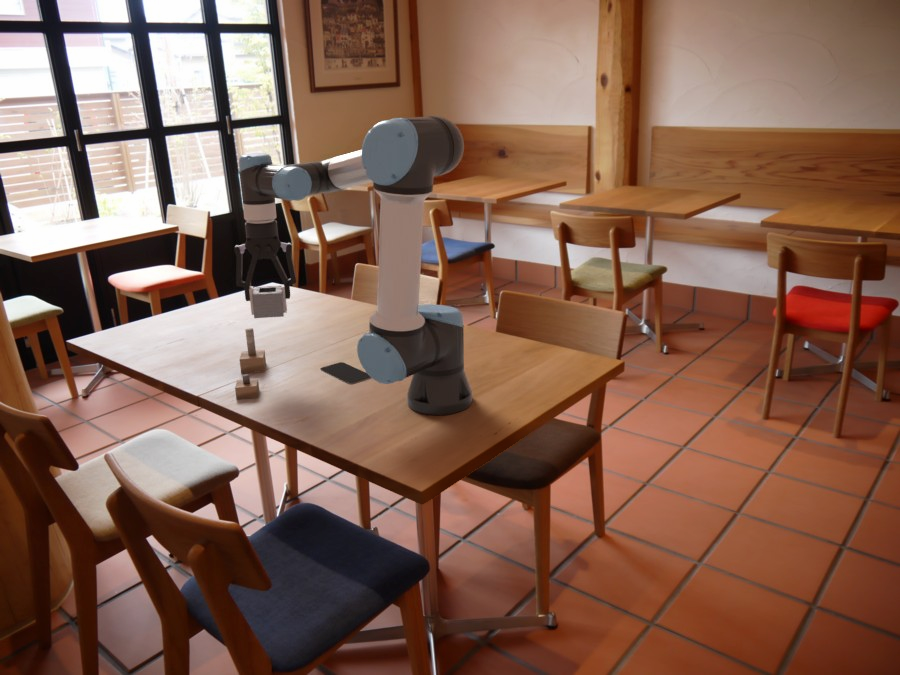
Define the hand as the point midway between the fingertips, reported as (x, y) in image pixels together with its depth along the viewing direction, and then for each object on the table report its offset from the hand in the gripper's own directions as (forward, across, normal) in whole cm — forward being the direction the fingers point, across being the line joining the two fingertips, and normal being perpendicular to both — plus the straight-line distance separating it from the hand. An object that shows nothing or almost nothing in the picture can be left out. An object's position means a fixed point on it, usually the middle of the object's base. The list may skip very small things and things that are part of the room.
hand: (269, 311), depth 185 cm
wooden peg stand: (+18, +6, -8) cm, 21 cm away
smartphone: (+18, -18, +1) cm, 25 cm away
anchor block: (+18, +6, +10) cm, 21 cm away
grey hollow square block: (0, 0, 0) cm, 0 cm away
